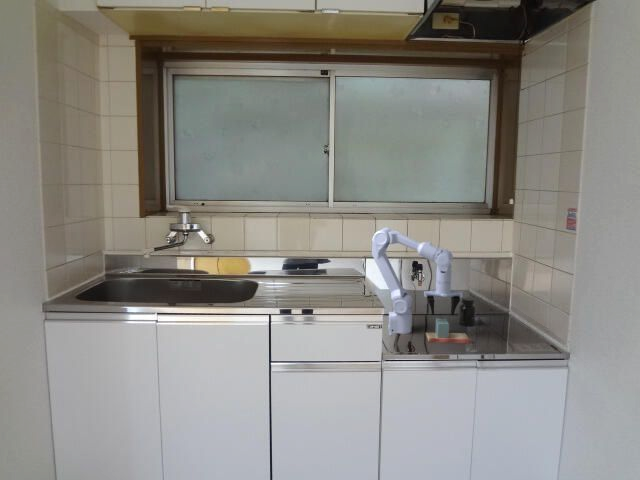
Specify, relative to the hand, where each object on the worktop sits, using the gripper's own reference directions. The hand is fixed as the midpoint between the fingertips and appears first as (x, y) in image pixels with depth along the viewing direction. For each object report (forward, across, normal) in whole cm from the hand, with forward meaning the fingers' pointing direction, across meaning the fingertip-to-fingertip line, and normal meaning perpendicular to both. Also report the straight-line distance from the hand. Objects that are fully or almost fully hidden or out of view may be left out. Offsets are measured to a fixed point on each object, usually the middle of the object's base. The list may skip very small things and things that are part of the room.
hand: (442, 314), depth 178 cm
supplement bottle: (+10, +13, +14) cm, 22 cm away
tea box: (+9, 0, 0) cm, 9 cm away
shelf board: (+10, +2, -2) cm, 10 cm away
